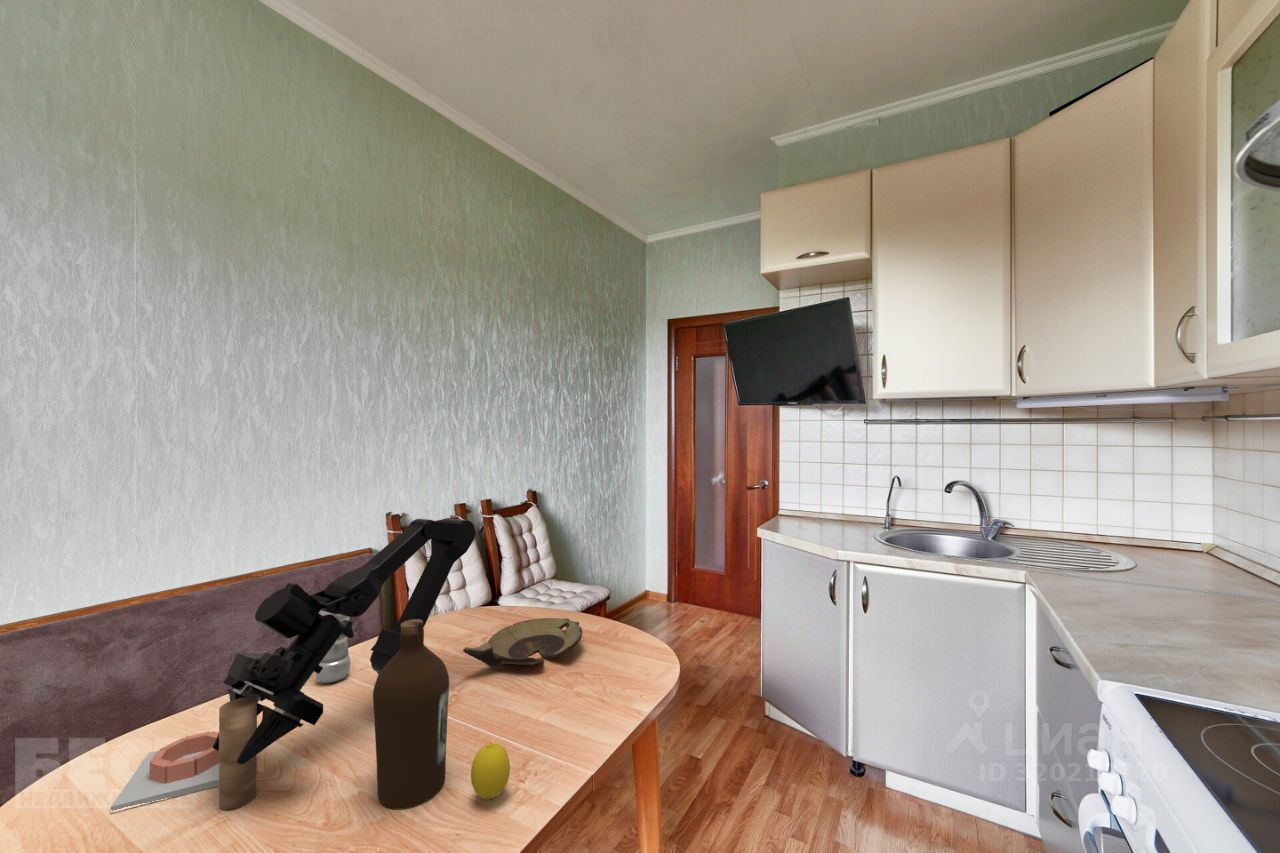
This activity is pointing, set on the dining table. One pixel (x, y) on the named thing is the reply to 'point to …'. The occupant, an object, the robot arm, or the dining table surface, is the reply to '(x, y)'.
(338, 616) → the plastic bottle
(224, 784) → the walnut peg
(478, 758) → the lemon
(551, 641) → the oil lamp
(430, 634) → the dining table surface
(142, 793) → the band dock
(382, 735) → the olive oil
